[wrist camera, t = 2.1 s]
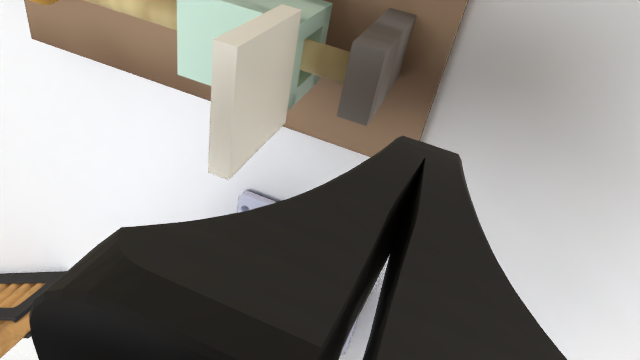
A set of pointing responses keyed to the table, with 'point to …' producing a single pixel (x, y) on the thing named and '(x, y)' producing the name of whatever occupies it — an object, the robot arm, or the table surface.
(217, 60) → the green sliding block
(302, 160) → the table surface
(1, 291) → the ammunition clip
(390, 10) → the brown plate
